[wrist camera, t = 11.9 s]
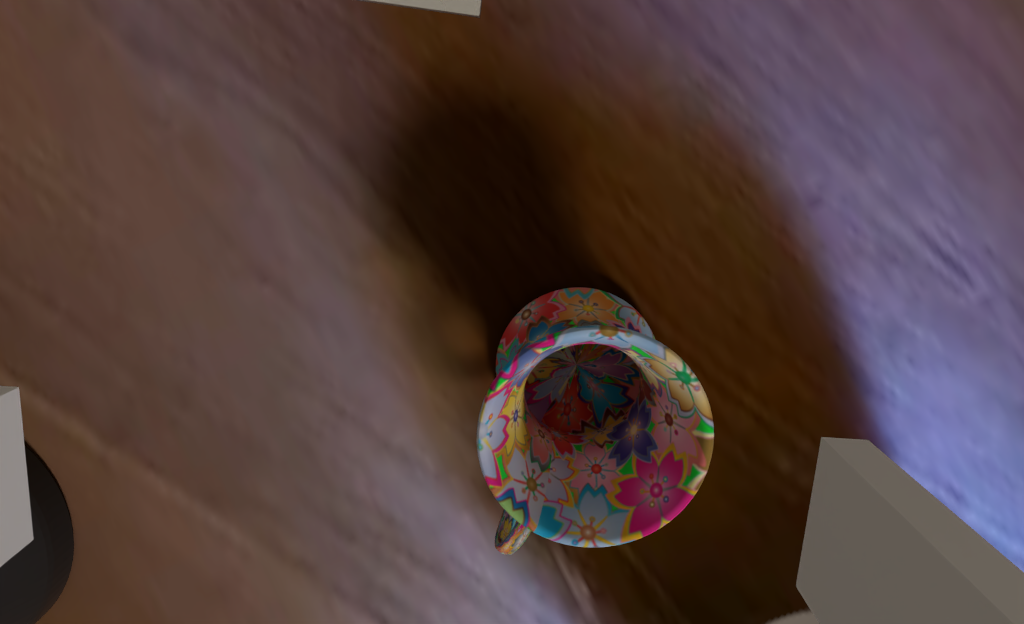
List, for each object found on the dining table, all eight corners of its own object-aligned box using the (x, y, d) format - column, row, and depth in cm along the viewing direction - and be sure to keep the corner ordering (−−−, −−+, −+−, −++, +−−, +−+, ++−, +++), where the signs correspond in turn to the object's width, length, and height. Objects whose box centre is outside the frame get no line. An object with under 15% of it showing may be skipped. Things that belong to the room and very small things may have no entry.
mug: (548, 242, 37) (557, 281, 27) (698, 334, 38) (762, 405, 28) (431, 428, 40) (399, 530, 29) (575, 510, 41) (592, 636, 30)
